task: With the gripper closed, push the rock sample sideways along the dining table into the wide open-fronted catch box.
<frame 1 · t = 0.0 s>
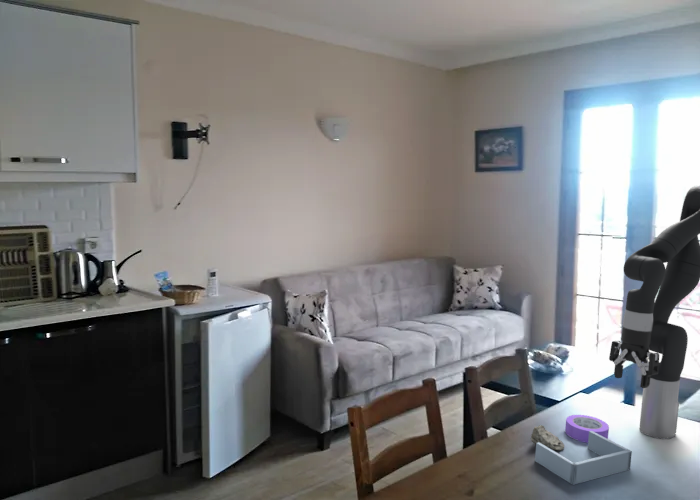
hand: (630, 382, 167), 17 cm above the table, tool pointing down, fingers open, 8 cm apart
masking tape: (586, 435, 172), on the table
catch box: (582, 465, 153), on the table
rock sample: (547, 446, 164), on the table
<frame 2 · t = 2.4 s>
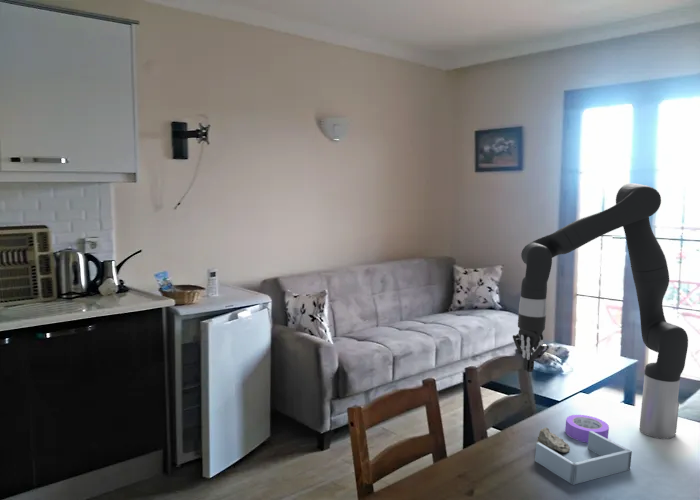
hand: (528, 370, 171), 18 cm above the table, tool pointing down, fingers closed
rock sample: (553, 448, 163), on the table
everything else where it was.
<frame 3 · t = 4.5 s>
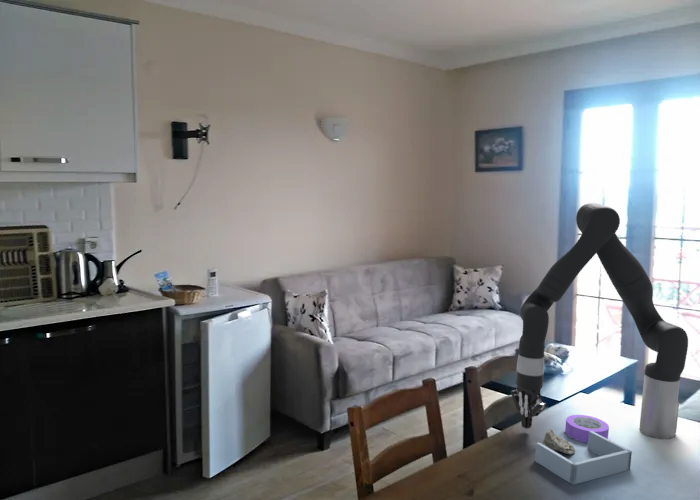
hand: (526, 427, 172), 1 cm above the table, tool pointing down, fingers closed
rock sample: (558, 450, 162), on the table
everything else where it was.
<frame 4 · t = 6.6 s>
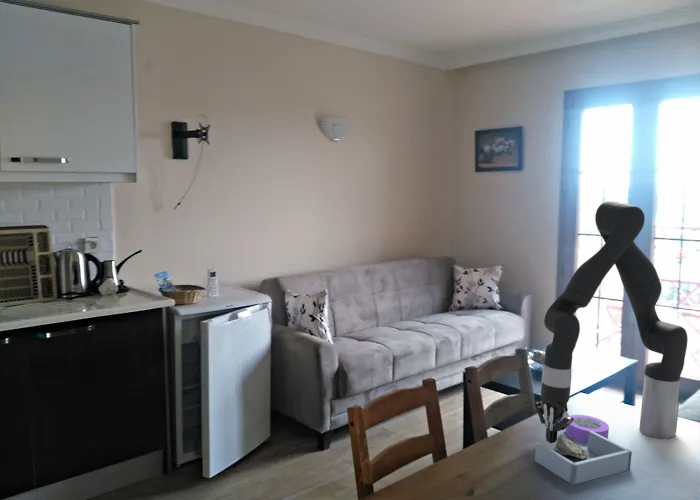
hand: (550, 441, 163), 2 cm above the table, tool pointing down, fingers closed
rock sample: (570, 455, 159), on the table, touching gripper
everything else where it was.
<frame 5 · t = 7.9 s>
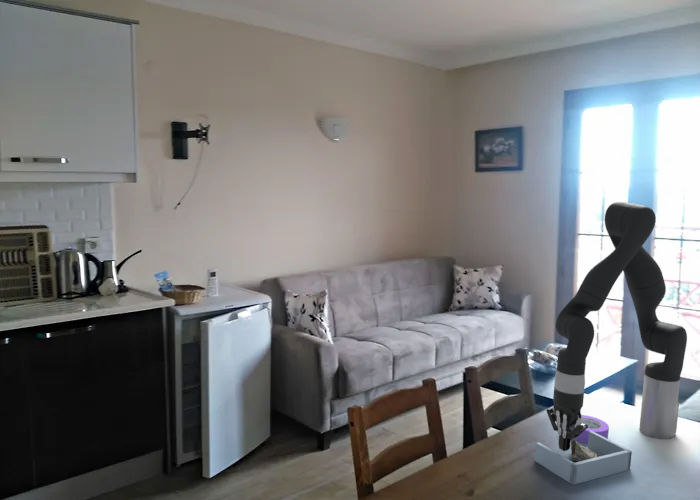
hand: (563, 449, 158), 2 cm above the table, tool pointing down, fingers closed
rock sample: (584, 460, 156), on the table
everything else where it was.
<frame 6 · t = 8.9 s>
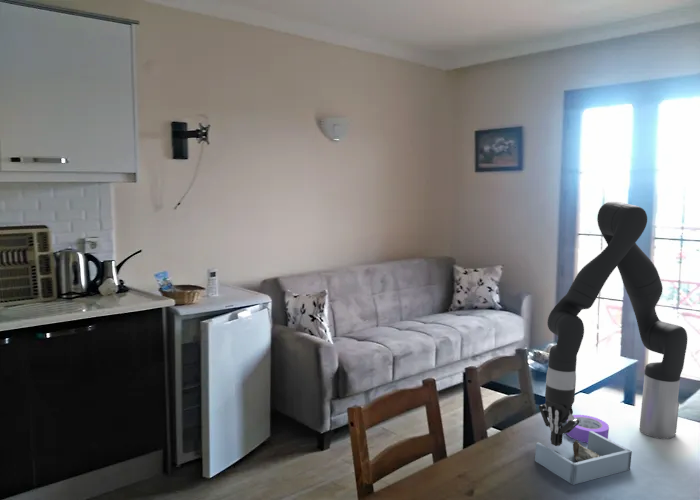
hand: (555, 444, 161), 2 cm above the table, tool pointing down, fingers closed
rock sample: (586, 461, 156), on the table, touching catch box
everything else where it was.
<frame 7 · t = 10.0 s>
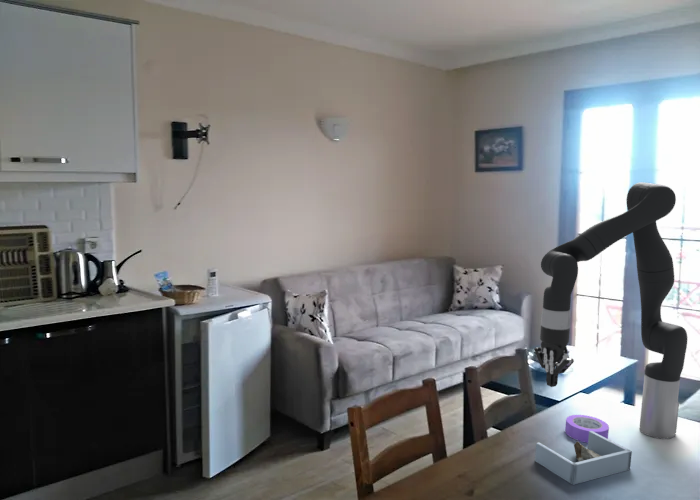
hand: (551, 385, 162), 17 cm above the table, tool pointing down, fingers closed
rock sample: (588, 462, 155), on the table
everything else where it was.
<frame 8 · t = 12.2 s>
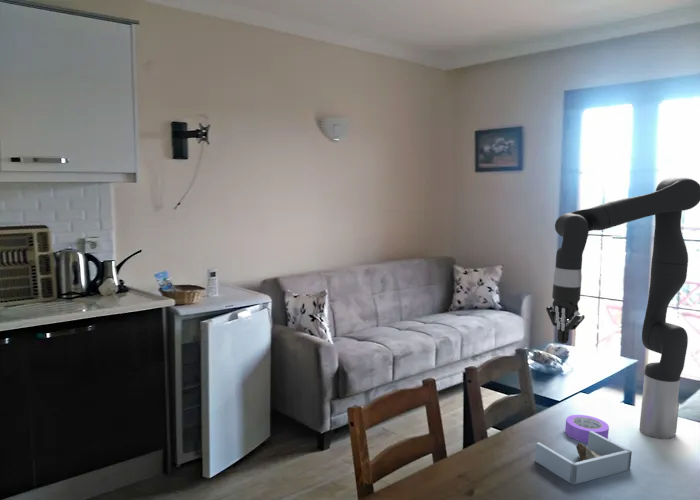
hand: (562, 342, 170), 27 cm above the table, tool pointing down, fingers closed
at the end: rock sample inside the target area (3.4 cm from its centre), on the table; rock sample moved 12.9 cm from its start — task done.
